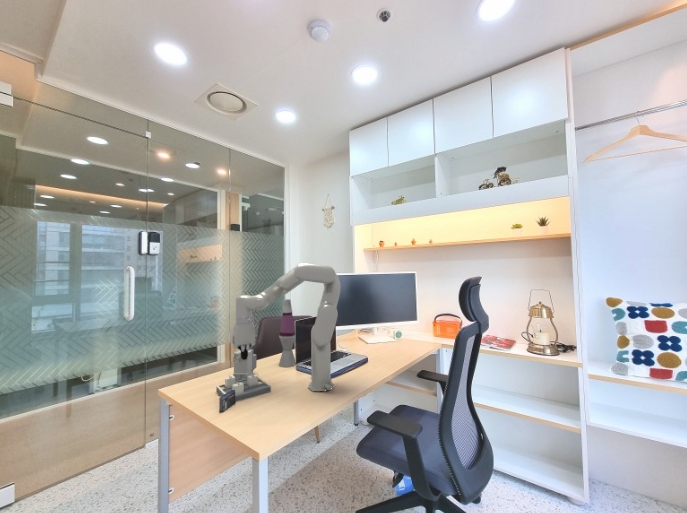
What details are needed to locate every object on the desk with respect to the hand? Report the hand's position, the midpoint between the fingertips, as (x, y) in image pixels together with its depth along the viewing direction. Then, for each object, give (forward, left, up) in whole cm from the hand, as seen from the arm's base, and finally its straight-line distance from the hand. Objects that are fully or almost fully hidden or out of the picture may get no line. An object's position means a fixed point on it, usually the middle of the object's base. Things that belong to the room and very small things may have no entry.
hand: (244, 358), depth 139 cm
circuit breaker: (+17, -7, -16) cm, 24 cm away
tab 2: (-5, +5, -13) cm, 15 cm away
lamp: (+22, -35, -16) cm, 44 cm away
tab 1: (+6, +5, -13) cm, 15 cm away
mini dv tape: (-12, +11, -16) cm, 23 cm away
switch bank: (0, 0, -15) cm, 15 cm away
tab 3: (0, -4, -13) cm, 14 cm away
